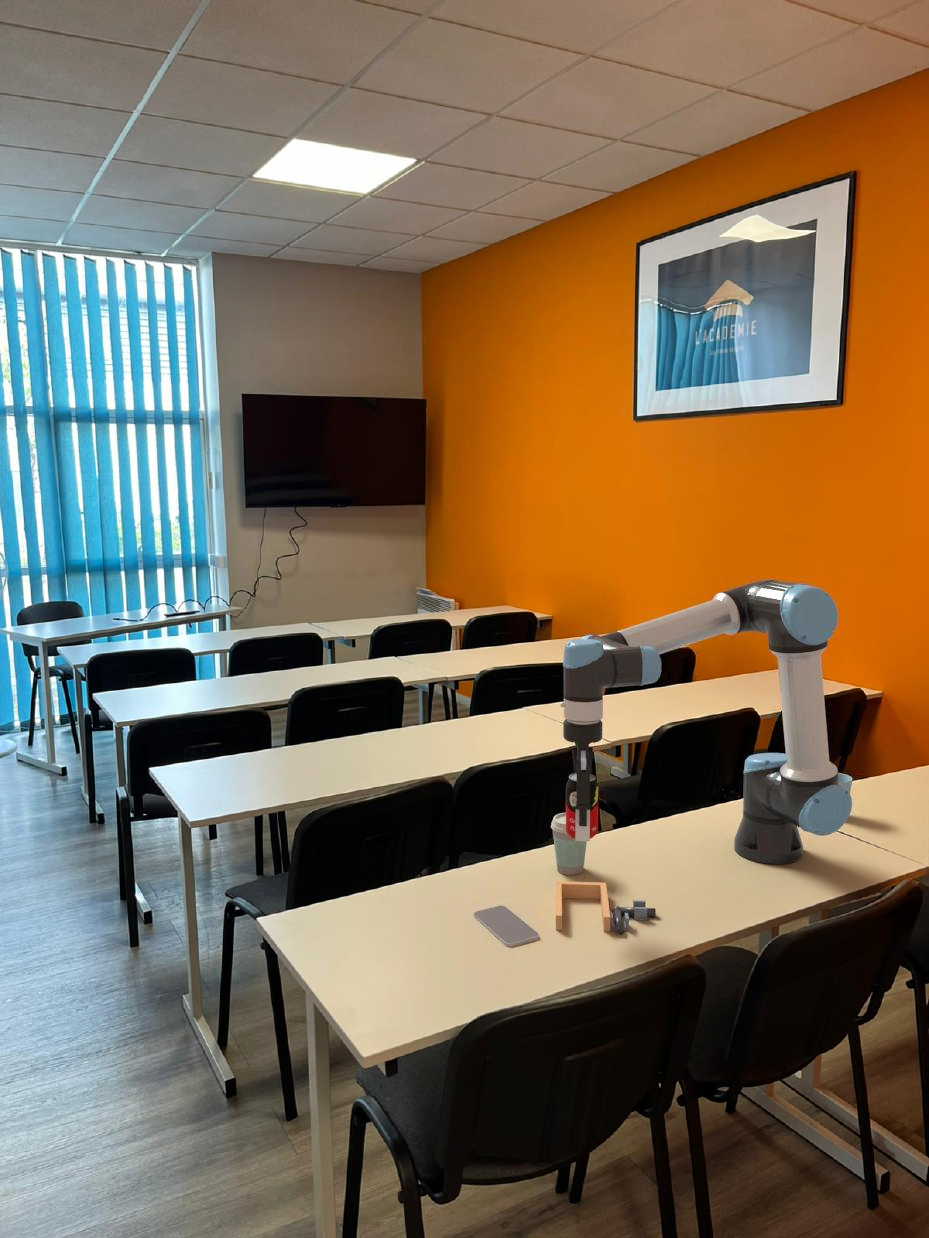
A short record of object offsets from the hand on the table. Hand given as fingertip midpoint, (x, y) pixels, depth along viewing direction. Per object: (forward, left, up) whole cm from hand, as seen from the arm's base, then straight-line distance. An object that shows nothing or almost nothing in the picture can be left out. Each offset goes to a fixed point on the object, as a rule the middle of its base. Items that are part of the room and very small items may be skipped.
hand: (582, 833), depth 177 cm
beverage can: (0, 0, -1) cm, 1 cm away
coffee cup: (+2, -22, -17) cm, 28 cm away
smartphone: (+15, +5, -18) cm, 24 cm away
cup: (-66, -59, -17) cm, 90 cm away
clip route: (-10, +2, -17) cm, 20 cm away
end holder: (0, -1, -17) cm, 17 cm away
